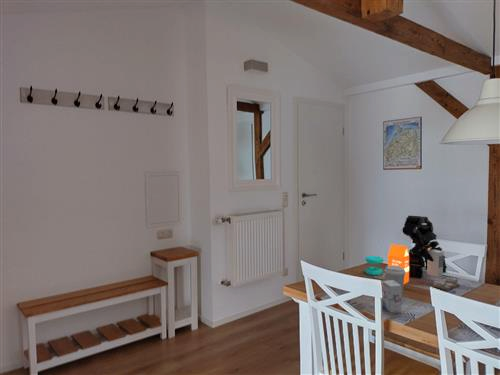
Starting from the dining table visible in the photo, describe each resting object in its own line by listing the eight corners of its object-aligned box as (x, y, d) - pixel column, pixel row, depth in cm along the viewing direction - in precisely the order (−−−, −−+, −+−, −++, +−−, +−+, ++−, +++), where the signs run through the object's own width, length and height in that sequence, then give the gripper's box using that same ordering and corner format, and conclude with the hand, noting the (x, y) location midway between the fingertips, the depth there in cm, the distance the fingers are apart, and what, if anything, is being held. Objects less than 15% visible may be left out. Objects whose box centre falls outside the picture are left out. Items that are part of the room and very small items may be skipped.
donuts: (386, 258, 216) (372, 259, 213) (386, 275, 216) (372, 276, 213) (376, 254, 225) (361, 256, 222) (376, 271, 226) (361, 272, 223)
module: (427, 273, 199) (427, 250, 198) (431, 272, 201) (432, 248, 200) (438, 277, 194) (439, 252, 193) (443, 275, 196) (444, 251, 195)
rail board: (445, 291, 186) (445, 284, 186) (431, 288, 192) (432, 281, 192) (459, 286, 194) (459, 279, 194) (446, 283, 200) (446, 276, 200)
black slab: (450, 271, 218) (438, 247, 222) (428, 277, 226) (418, 253, 230) (452, 270, 221) (440, 246, 224) (430, 276, 229) (420, 252, 233)
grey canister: (379, 298, 176) (380, 267, 175) (391, 294, 182) (391, 264, 181) (398, 304, 168) (398, 271, 168) (409, 299, 174) (409, 268, 174)
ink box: (381, 305, 167) (381, 279, 166) (392, 305, 167) (392, 279, 167) (390, 313, 158) (390, 285, 158) (401, 312, 158) (402, 285, 158)
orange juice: (403, 284, 198) (404, 247, 198) (387, 281, 204) (387, 245, 203) (409, 281, 204) (409, 245, 203) (393, 278, 210) (393, 243, 209)
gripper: (416, 229, 195) (436, 254, 187) (435, 226, 206) (455, 249, 197) (402, 242, 202) (421, 266, 194) (422, 238, 213) (440, 261, 204)
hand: (435, 260), depth 197 cm, fingers closed on module, 4 cm apart
